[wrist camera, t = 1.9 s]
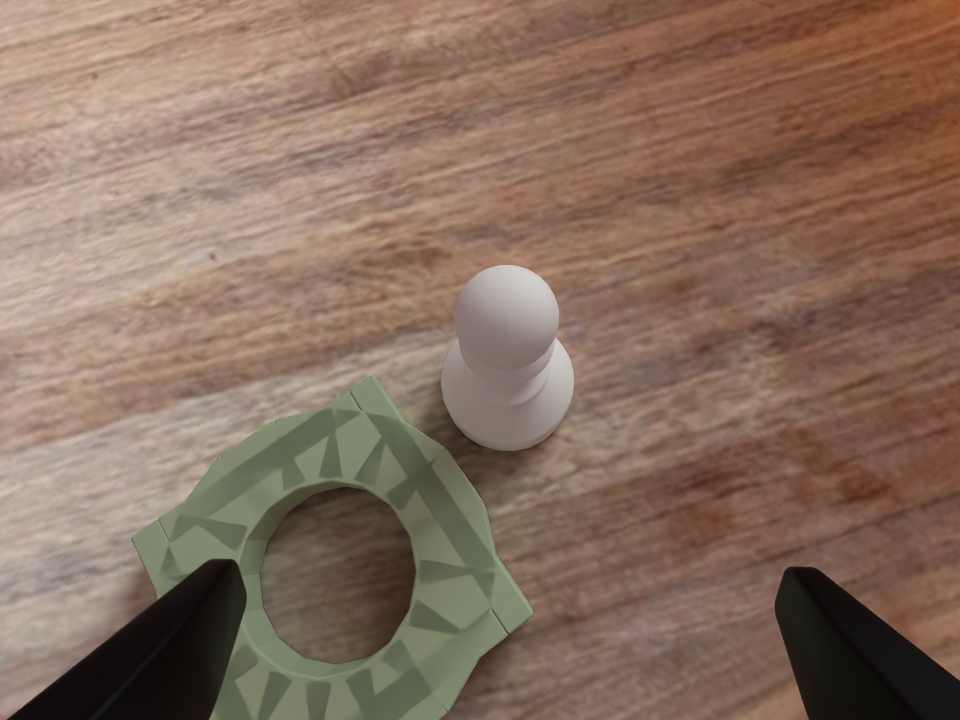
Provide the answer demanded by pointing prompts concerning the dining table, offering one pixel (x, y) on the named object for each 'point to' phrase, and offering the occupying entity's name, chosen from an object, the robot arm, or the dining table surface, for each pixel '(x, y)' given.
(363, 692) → the pad
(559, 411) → the chess pawn
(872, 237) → the dining table surface
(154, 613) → the robot arm
